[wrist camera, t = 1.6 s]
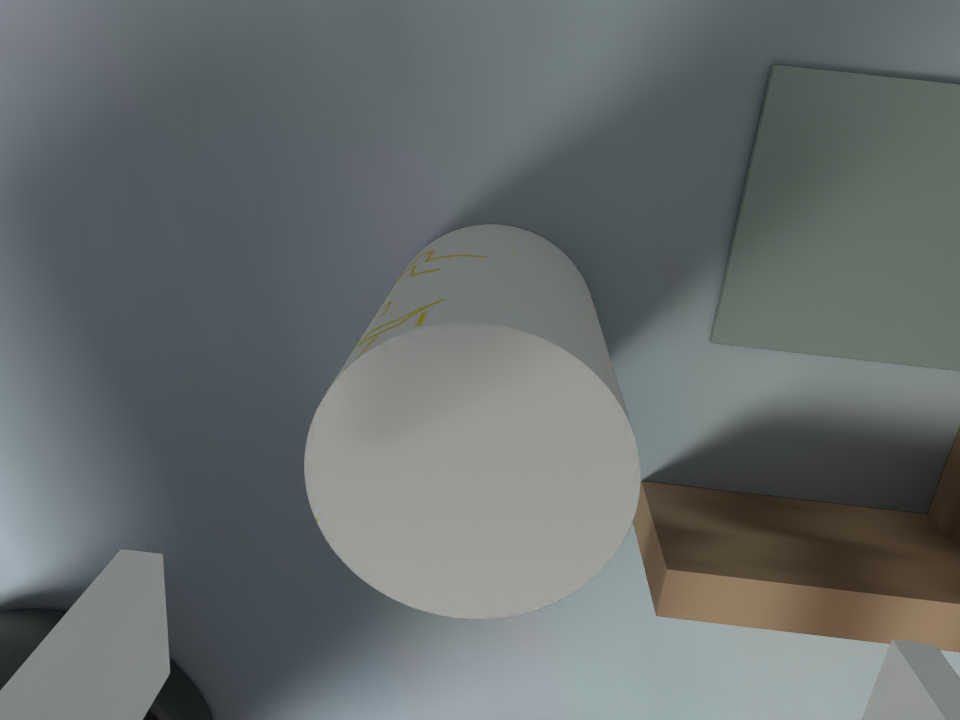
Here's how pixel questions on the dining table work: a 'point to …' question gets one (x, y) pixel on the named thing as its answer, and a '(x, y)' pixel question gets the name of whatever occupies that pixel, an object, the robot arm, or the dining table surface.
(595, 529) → the cup
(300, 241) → the dining table surface
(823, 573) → the brown wooden l-shaped wall
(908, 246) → the pad
